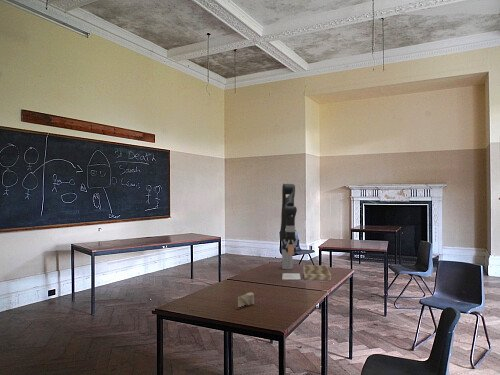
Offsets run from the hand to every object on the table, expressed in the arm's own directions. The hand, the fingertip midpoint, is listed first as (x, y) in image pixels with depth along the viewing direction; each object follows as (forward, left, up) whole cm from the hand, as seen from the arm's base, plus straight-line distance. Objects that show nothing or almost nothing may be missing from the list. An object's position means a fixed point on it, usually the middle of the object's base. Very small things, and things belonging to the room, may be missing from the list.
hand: (290, 252), depth 290 cm
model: (-27, -79, -20) cm, 86 cm away
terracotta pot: (0, 0, -1) cm, 1 cm away
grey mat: (0, 0, -19) cm, 19 cm away
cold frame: (+20, 0, -19) cm, 28 cm away
